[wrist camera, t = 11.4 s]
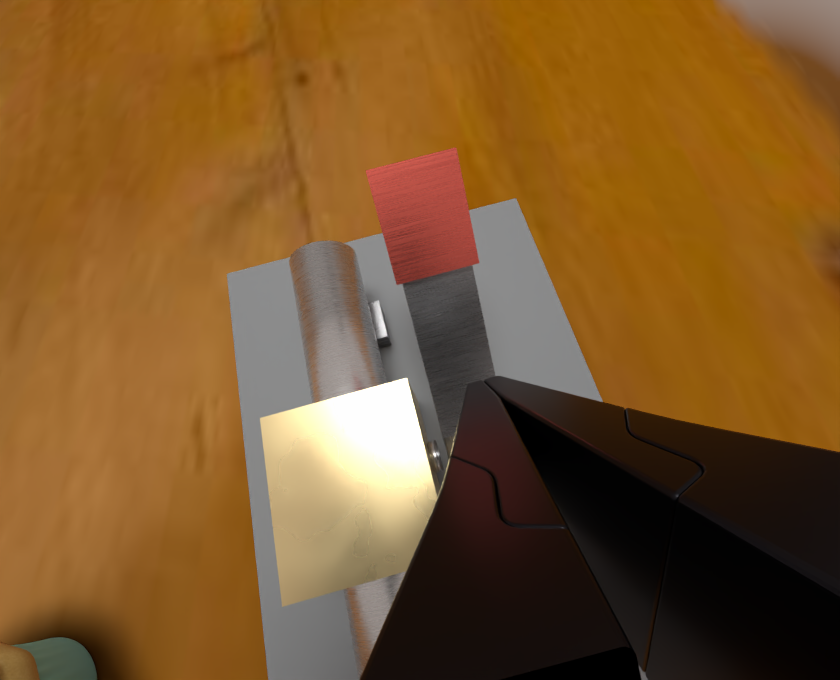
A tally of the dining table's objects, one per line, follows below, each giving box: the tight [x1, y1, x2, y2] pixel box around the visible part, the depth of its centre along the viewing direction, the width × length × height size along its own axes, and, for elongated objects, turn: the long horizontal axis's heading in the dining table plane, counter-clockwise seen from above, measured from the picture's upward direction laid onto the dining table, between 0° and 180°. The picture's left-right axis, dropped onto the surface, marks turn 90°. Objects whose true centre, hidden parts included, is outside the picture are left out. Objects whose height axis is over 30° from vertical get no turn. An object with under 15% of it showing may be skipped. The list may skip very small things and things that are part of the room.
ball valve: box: [260, 241, 444, 680], centre depth 14 cm, size 20×6×6 cm, turn 15°
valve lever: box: [366, 148, 495, 459], centre depth 12 cm, size 2×3×12 cm
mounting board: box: [227, 198, 648, 680], centre depth 17 cm, size 26×18×1 cm
